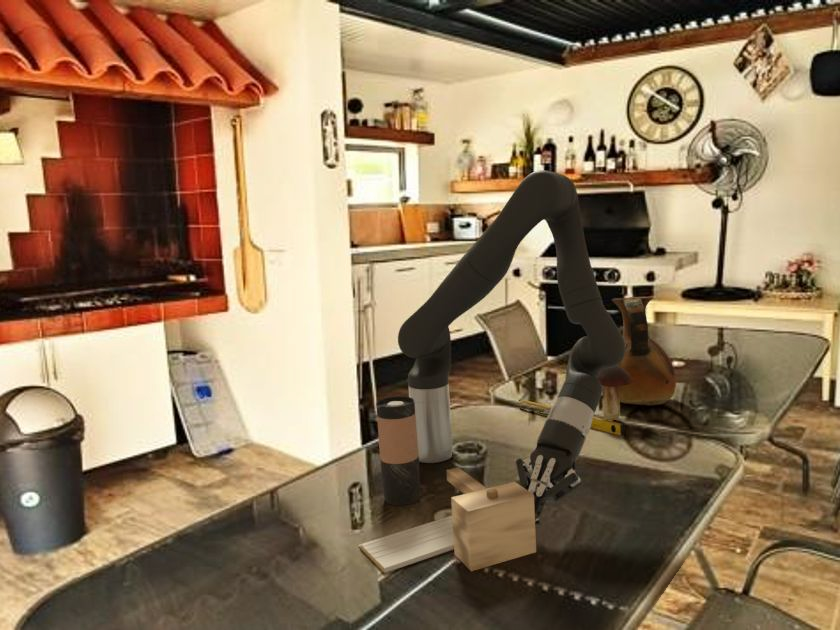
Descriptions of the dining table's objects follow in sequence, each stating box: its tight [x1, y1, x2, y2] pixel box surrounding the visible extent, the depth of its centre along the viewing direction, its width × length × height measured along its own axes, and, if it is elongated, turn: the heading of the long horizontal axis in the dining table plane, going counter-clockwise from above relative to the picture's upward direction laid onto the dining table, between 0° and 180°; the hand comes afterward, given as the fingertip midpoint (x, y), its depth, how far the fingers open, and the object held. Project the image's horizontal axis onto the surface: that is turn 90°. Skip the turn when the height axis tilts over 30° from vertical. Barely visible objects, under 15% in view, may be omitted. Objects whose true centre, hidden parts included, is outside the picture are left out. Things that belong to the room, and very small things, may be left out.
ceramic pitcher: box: [602, 296, 677, 406], centre depth 184 cm, size 20×20×30 cm
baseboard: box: [358, 515, 540, 574], centre depth 119 cm, size 31×3×12 cm
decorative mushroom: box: [597, 365, 633, 421], centre depth 171 cm, size 11×11×15 cm
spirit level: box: [518, 398, 625, 437], centre depth 175 cm, size 33×1×3 cm, turn 38°
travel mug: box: [375, 395, 421, 507], centre depth 133 cm, size 8×8×20 cm
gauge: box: [446, 467, 537, 572], centre depth 115 cm, size 18×12×11 cm, turn 23°
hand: (528, 518), depth 113 cm, fingers closed
